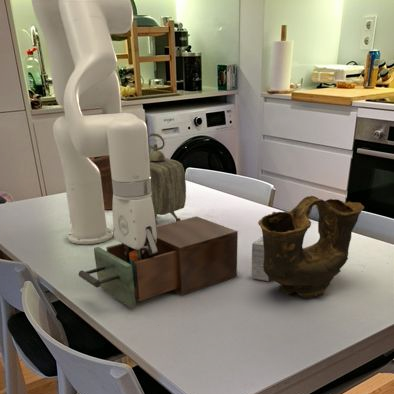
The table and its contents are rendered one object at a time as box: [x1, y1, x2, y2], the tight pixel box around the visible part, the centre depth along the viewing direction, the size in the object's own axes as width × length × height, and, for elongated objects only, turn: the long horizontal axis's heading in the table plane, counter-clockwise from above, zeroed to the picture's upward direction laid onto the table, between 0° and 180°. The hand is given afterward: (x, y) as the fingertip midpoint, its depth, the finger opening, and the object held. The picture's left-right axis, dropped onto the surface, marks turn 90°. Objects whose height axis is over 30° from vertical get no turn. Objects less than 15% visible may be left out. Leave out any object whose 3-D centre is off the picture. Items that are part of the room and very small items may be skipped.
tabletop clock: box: [148, 132, 187, 225], centre depth 147 cm, size 14×9×25 cm, turn 50°
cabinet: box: [156, 215, 239, 297], centre depth 116 cm, size 16×15×11 cm
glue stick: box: [129, 250, 144, 286], centre depth 109 cm, size 4×4×7 cm
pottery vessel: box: [257, 195, 365, 299], centre depth 106 cm, size 25×11×20 cm, turn 123°
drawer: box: [77, 241, 179, 308], centre depth 108 cm, size 20×14×9 cm
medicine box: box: [250, 236, 271, 282], centre depth 116 cm, size 8×4×9 cm, turn 148°
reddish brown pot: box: [89, 155, 113, 210], centre depth 167 cm, size 18×20×18 cm
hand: (139, 273), depth 109 cm, fingers closed on glue stick, 3 cm apart
